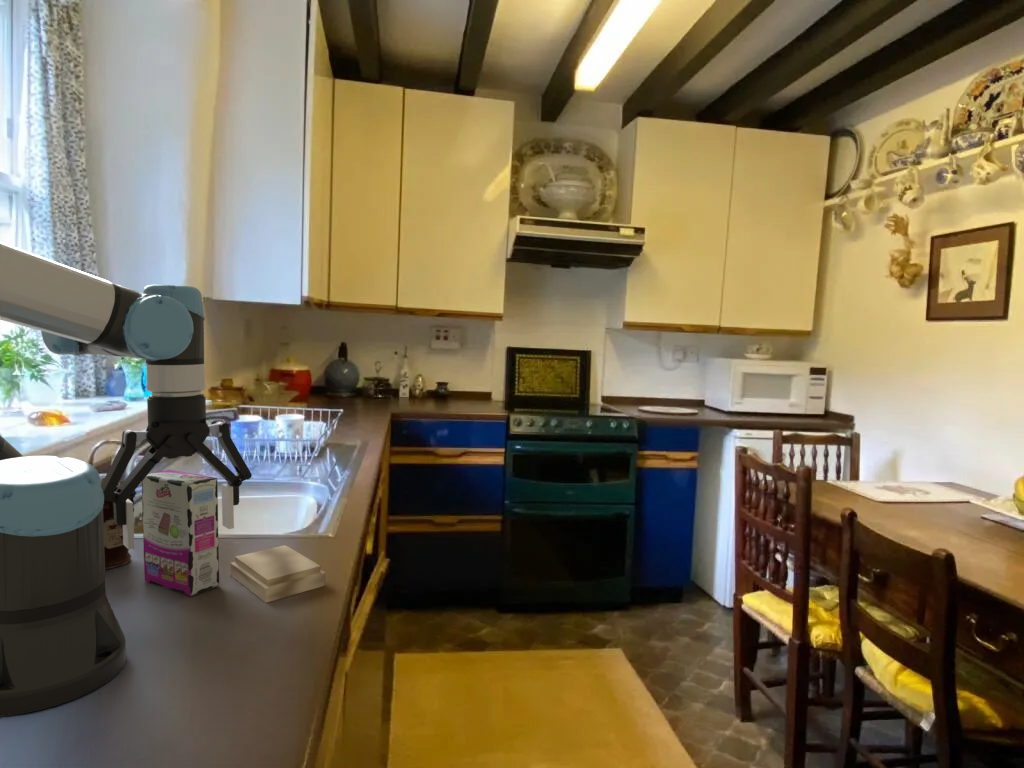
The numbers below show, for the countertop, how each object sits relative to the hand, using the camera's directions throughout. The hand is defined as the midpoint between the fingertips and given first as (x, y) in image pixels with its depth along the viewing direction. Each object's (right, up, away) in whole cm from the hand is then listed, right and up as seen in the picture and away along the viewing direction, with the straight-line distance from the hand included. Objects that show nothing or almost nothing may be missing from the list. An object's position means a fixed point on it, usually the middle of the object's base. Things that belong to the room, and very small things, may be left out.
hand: (180, 536), depth 95 cm
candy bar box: (0, -7, +1) cm, 8 cm away
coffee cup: (-16, -6, +8) cm, 19 cm away
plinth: (+13, -7, +2) cm, 15 cm away
